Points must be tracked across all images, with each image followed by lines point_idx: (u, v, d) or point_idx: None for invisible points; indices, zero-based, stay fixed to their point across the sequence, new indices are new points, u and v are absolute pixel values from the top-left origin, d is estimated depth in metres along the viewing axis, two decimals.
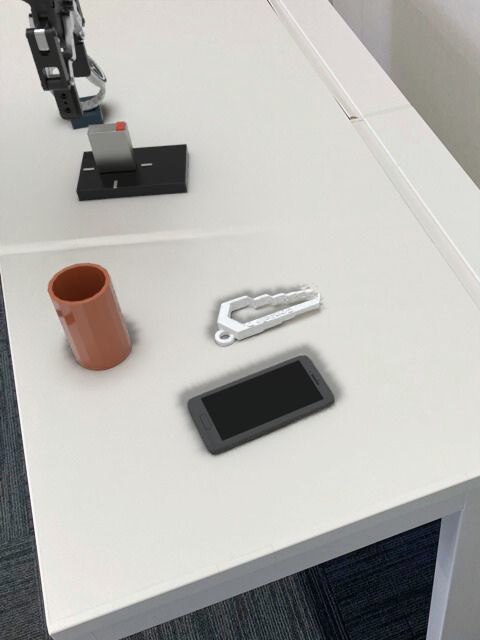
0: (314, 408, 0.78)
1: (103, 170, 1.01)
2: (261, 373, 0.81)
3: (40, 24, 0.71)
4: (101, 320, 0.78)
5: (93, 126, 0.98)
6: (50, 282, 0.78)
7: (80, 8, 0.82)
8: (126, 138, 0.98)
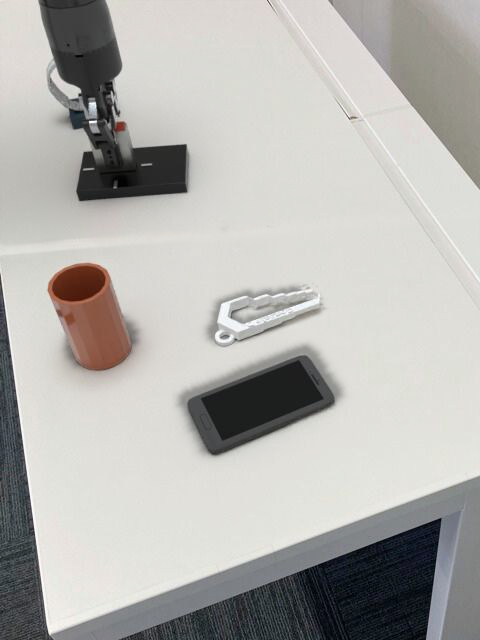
0: (314, 408, 0.78)
1: (103, 170, 1.01)
2: (261, 373, 0.81)
3: (91, 113, 0.91)
4: (101, 320, 0.78)
5: None
6: (50, 282, 0.78)
7: None
8: (126, 138, 0.98)
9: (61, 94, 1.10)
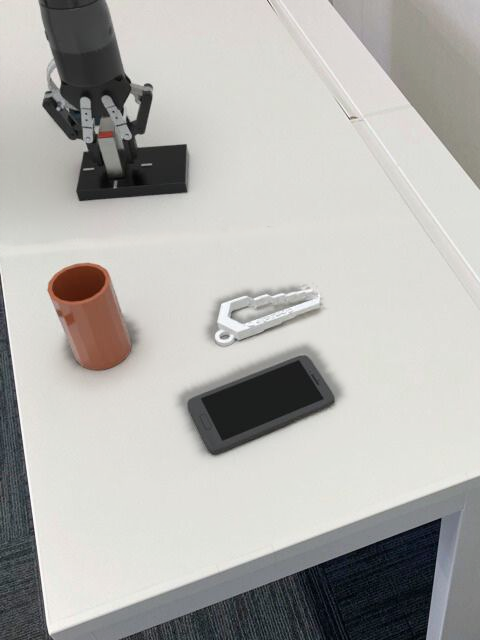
0: (314, 408, 0.78)
1: None
2: (261, 373, 0.81)
3: (53, 92, 0.94)
4: (101, 320, 0.78)
5: (112, 120, 0.99)
6: (50, 282, 0.78)
7: (145, 123, 0.97)
8: None
9: None
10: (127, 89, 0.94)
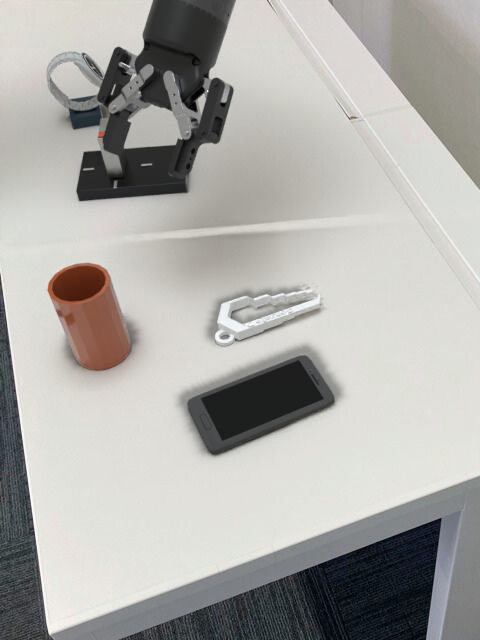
0: (314, 408, 0.78)
1: None
2: (261, 373, 0.81)
3: None
4: (101, 320, 0.78)
5: None
6: (50, 282, 0.78)
7: (209, 121, 0.75)
8: None
9: (61, 94, 1.10)
10: (196, 76, 0.76)
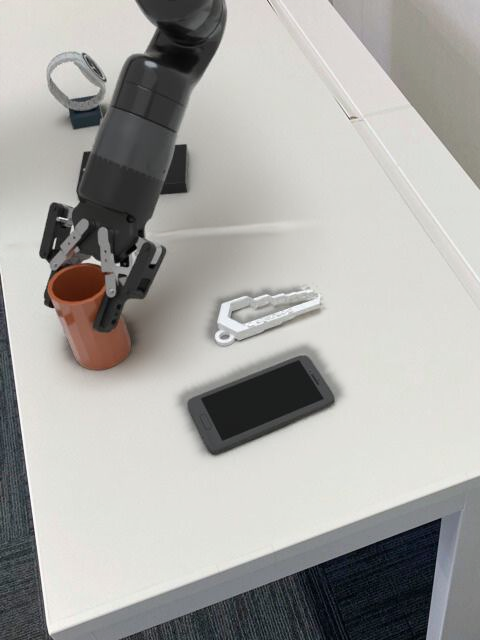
0: (314, 408, 0.78)
1: None
2: (261, 373, 0.81)
3: None
4: None
5: None
6: (50, 282, 0.78)
7: (134, 283, 0.75)
8: None
9: (61, 94, 1.10)
10: (130, 234, 0.76)
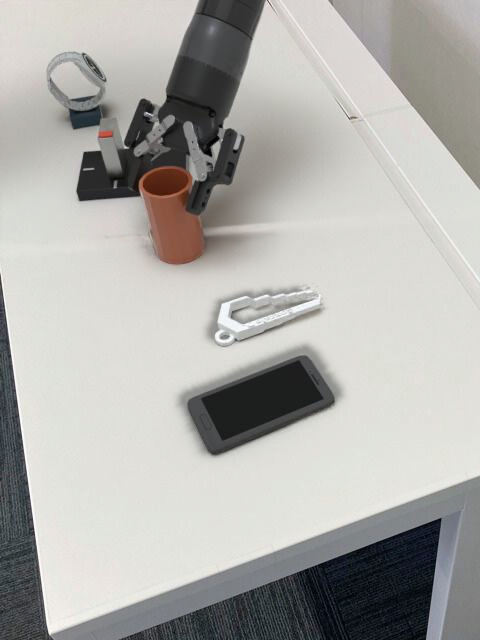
0: (314, 408, 0.78)
1: None
2: (261, 373, 0.81)
3: None
4: (184, 215, 0.90)
5: (112, 120, 0.99)
6: (140, 181, 0.89)
7: (223, 166, 0.85)
8: None
9: (61, 94, 1.10)
10: (212, 126, 0.86)
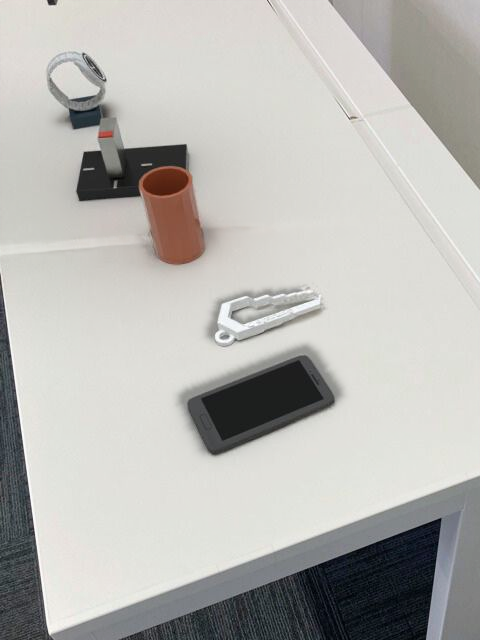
0: (314, 408, 0.78)
1: None
2: (261, 373, 0.81)
3: None
4: (184, 215, 0.90)
5: (112, 120, 0.99)
6: (140, 181, 0.89)
7: None
8: None
9: (61, 94, 1.10)
10: None
